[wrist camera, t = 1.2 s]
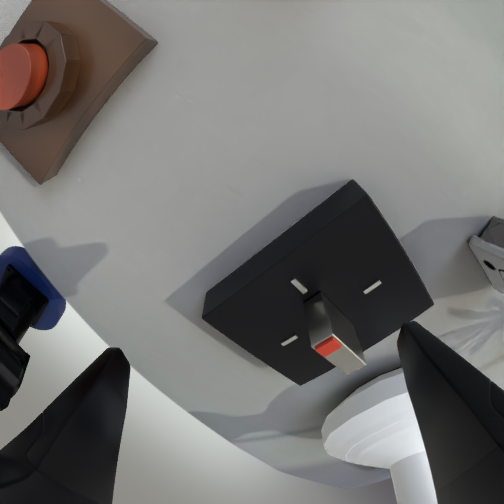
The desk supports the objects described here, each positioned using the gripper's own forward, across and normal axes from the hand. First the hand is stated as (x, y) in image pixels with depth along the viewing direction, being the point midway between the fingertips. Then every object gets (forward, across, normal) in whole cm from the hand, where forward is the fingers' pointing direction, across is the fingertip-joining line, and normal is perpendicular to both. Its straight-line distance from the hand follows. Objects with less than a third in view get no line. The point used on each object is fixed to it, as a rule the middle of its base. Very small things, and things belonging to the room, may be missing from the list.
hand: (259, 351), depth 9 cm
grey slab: (+10, -4, +8) cm, 14 cm away
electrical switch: (+13, -23, +6) cm, 27 cm away
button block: (+13, +12, -12) cm, 21 cm away
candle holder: (+13, -15, +28) cm, 34 cm away
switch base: (+13, -4, +8) cm, 16 cm away
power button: (+9, +12, -12) cm, 19 cm away
